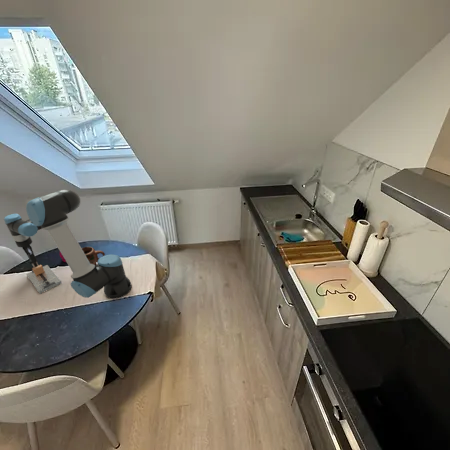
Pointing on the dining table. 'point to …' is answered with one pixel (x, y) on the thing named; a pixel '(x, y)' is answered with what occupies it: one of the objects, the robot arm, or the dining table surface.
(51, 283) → the grey slotted slider plate
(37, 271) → the fader cap
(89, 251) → the brown mug
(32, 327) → the dining table surface
